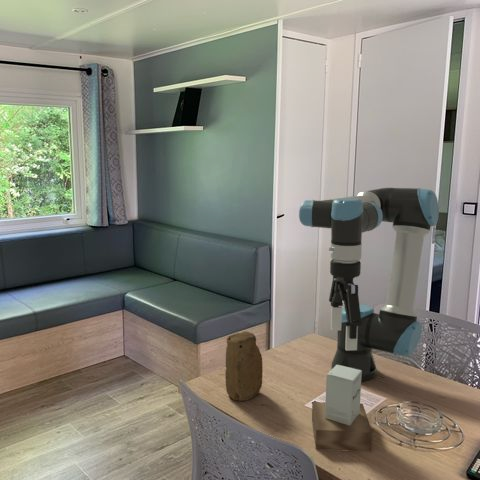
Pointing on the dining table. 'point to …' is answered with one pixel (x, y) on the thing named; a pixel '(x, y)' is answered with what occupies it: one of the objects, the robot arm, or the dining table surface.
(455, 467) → the dining table surface
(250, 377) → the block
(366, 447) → the walnut block
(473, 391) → the dining table surface
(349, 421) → the supplement box
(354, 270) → the robot arm
